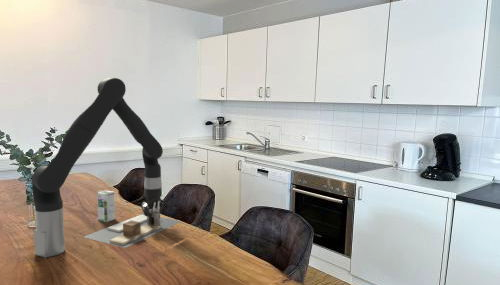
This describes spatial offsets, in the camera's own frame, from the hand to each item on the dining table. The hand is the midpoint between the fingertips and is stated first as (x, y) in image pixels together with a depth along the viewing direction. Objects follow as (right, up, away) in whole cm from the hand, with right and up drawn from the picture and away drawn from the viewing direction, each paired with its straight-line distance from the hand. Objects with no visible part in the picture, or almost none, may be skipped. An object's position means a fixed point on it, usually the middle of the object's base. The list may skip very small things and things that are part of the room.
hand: (153, 223), depth 169 cm
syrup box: (-25, -1, +10) cm, 27 cm away
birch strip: (-5, -3, -9) cm, 11 cm away
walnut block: (-6, -2, -12) cm, 14 cm away
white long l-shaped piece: (-11, -1, +5) cm, 12 cm away
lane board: (-8, -3, -2) cm, 9 cm away
